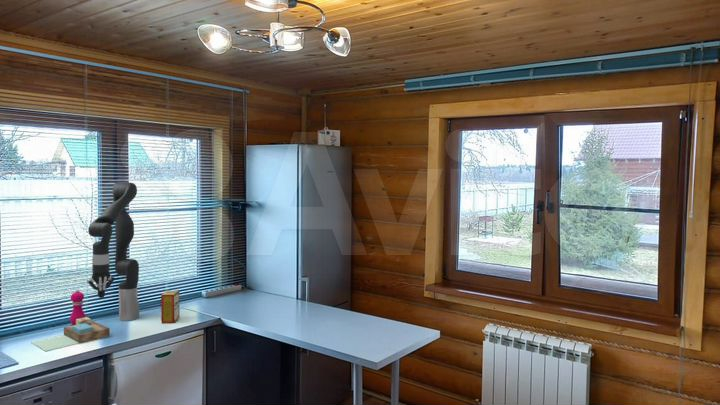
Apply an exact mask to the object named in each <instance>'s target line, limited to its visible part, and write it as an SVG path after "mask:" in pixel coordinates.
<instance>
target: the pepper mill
mask: <svg viewBox="0 0 720 405" xmlns="http://www.w3.org/2000/svg"><path fill="white" fill-rule="evenodd" d="M84 299H85V295H84V293H83V292H81V291H80V289H79V288H77V289H75V290H74V292H73V293H72V294H71V295H70V301H71V305H72V312H71V315H70V316H69V321H70V323H71V325H70V326H73V325H76V319H79V318H84V317H87V316H86V314H85V312H84V310H83V304H84V301H83V300H84Z"/></svg>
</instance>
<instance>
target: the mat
mask: <svg viewBox="0 0 720 405" xmlns="http://www.w3.org/2000/svg"><path fill="white" fill-rule="evenodd" d="M31 344H33V345H35V346H36V347H38V348H39V349H40V350H42V351H44V352H50V351H53V350H57V349H62V348H66V347H70V346H74V345H79V344H80V343H78V342H76V341H75V340H73V339H71V338H69V337H67V336H65V335H64V334H62V335H57V336H53V337H48V338H43V339H38V340H34V341H31Z"/></svg>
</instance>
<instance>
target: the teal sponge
mask: <svg viewBox="0 0 720 405" xmlns="http://www.w3.org/2000/svg"><path fill="white" fill-rule="evenodd" d="M72 330H73V331H75V332H77V333H79V334H82V333H86V332H91V331H93V327H92V326H90V325H88V324H86V323H84V324H79V325H74V326H72Z"/></svg>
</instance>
